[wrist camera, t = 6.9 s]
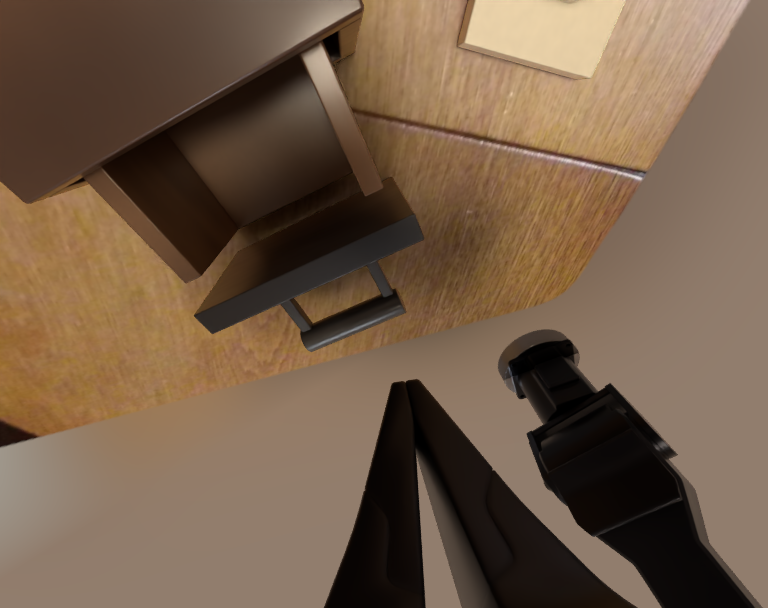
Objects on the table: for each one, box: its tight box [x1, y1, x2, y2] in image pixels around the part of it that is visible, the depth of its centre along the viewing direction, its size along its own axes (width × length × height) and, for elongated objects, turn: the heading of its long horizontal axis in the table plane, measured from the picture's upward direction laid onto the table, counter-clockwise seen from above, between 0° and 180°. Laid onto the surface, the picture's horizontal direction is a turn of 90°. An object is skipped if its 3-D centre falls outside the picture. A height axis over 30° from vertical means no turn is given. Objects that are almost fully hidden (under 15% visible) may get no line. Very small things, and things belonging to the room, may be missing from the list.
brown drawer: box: [83, 40, 424, 352], centre depth 14 cm, size 17×10×7 cm, turn 24°
